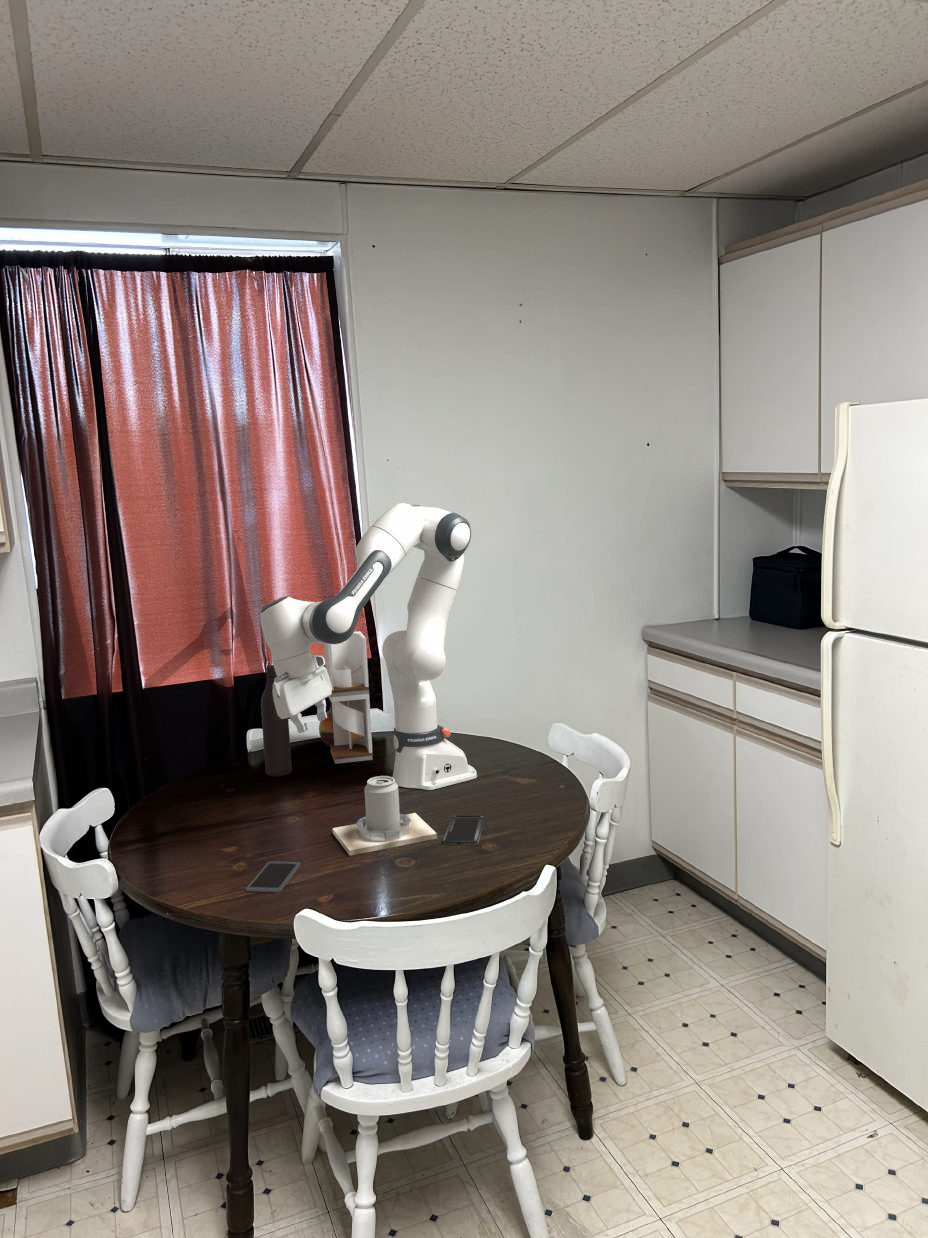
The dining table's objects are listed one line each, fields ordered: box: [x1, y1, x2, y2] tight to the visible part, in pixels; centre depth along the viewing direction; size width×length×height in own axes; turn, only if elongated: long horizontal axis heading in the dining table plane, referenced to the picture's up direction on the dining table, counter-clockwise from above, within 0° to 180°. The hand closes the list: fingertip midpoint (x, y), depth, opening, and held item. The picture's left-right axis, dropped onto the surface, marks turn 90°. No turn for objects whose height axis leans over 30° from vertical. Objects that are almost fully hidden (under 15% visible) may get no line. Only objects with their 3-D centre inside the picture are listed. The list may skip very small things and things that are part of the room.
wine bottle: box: [260, 664, 293, 777], centre depth 257 cm, size 7×7×30 cm
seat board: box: [332, 812, 438, 856], centre depth 213 cm, size 20×14×1 cm
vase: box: [318, 697, 334, 748], centre depth 284 cm, size 11×11×15 cm
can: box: [363, 775, 401, 831], centre depth 212 cm, size 8×8×12 cm
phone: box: [442, 815, 486, 846], centre depth 214 cm, size 8×1×15 cm
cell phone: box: [244, 860, 302, 894], centre depth 194 cm, size 7×14×1 cm, turn 171°
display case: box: [323, 631, 373, 765], centre depth 269 cm, size 11×11×35 cm
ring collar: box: [355, 812, 411, 842], centre depth 213 cm, size 12×12×2 cm
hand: (313, 725), depth 217 cm, fingers open, 8 cm apart
